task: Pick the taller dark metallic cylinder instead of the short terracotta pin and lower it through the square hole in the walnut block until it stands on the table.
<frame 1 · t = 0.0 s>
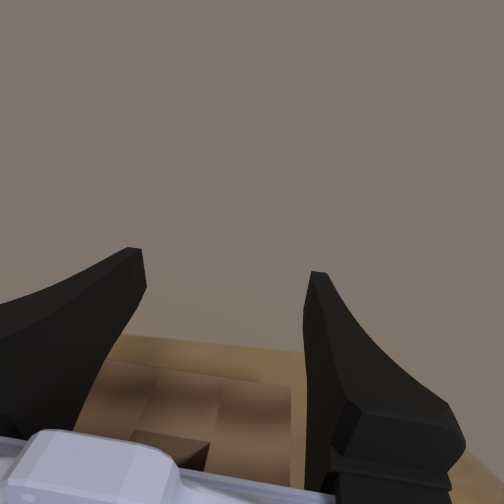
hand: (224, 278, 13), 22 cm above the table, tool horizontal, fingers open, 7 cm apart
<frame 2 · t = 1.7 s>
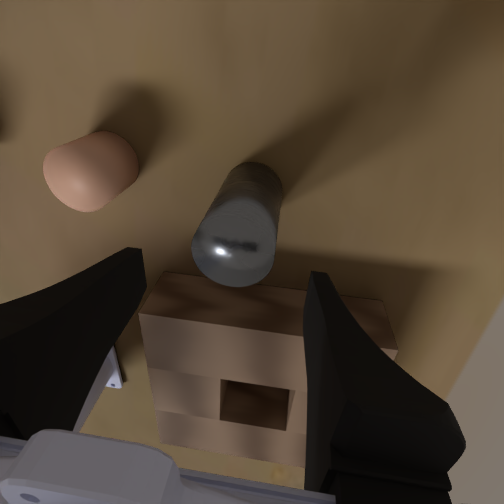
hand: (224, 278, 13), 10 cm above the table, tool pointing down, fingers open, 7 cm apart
short pin: (110, 161, 22), on the table
hole block: (261, 358, 31), on the table
dark metallic cylinder: (252, 191, 22), on the table
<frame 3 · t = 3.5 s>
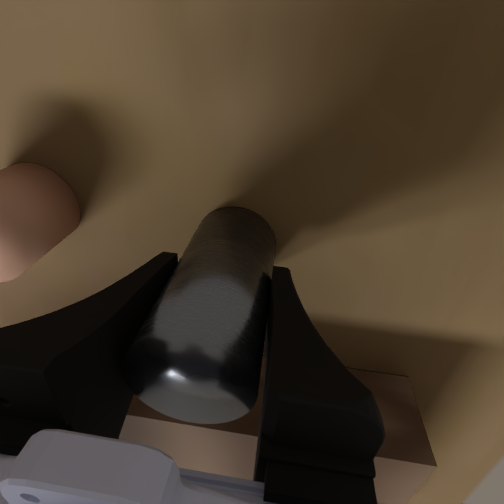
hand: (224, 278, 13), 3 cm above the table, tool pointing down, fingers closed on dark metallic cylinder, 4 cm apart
short pin: (41, 202, 16), on the table
hole block: (252, 430, 25), on the table
dark metallic cylinder: (235, 243, 16), on the table, touching gripper
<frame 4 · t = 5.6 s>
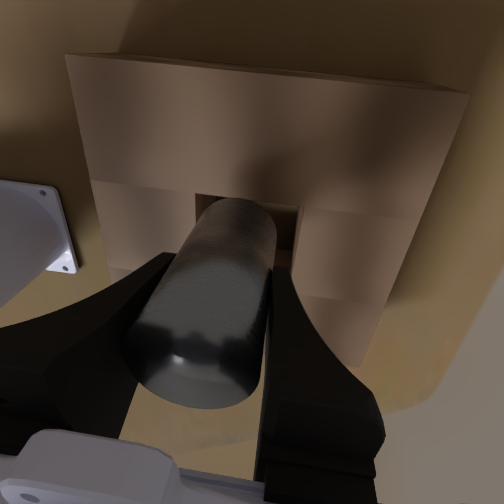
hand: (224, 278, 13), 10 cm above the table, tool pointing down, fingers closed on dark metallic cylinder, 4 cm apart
hole block: (255, 210, 23), on the table
dark metallic cylinder: (236, 235, 16), point 7 cm above the table, touching gripper
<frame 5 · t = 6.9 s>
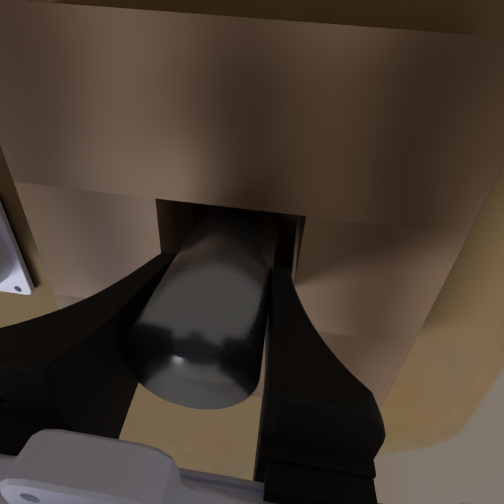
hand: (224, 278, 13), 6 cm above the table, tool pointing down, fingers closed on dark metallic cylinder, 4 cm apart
hole block: (244, 218, 18), on the table
dark metallic cylinder: (236, 235, 16), point 3 cm above the table, touching gripper
when the fingers open (6 cm above the table, at t = 7.7 s): dark metallic cylinder drops 2 cm, resting in hole block.
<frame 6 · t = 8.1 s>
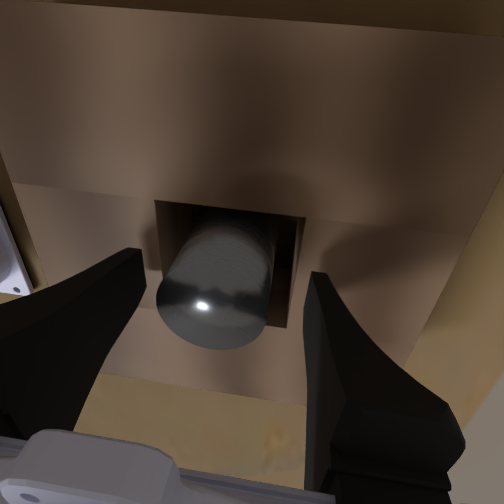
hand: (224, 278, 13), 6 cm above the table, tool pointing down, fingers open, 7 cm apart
hole block: (243, 219, 18), on the table
dark metallic cylinder: (244, 214, 18), resting in hole block
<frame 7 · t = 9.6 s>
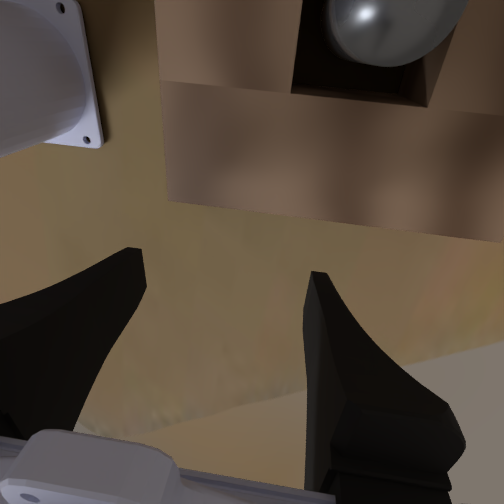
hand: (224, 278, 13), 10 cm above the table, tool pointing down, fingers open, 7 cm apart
hole block: (358, 24, 17), on the table
dark metallic cylinder: (360, 16, 16), resting in hole block
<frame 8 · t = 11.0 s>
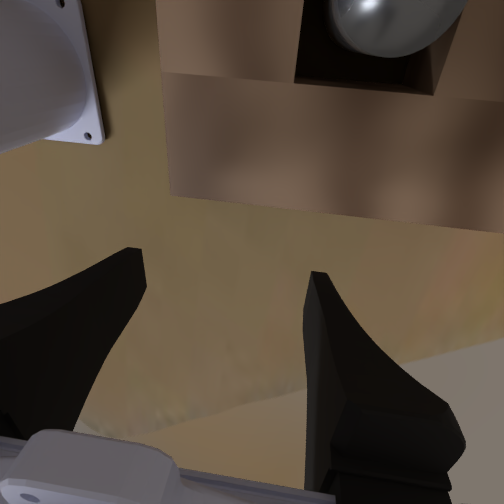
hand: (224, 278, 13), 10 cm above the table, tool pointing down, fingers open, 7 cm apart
hole block: (361, 13, 16), on the table
dark metallic cylinder: (363, 5, 16), resting in hole block
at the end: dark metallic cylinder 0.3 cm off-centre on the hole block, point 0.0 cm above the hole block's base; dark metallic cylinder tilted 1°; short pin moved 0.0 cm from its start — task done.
